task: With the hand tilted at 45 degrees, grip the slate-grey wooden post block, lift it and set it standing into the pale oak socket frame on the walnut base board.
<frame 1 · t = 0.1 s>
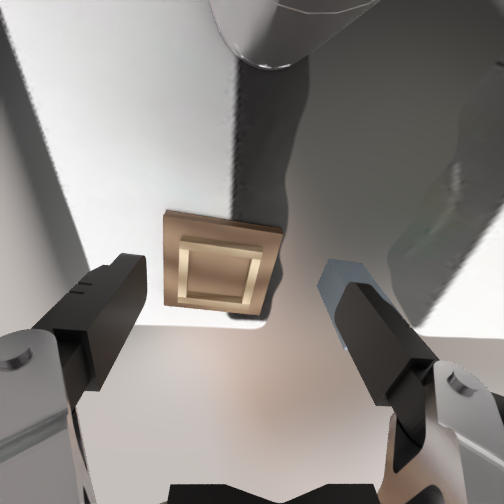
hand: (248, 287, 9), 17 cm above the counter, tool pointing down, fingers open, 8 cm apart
post block: (338, 274, 31), on the counter
base board: (219, 265, 30), on the counter
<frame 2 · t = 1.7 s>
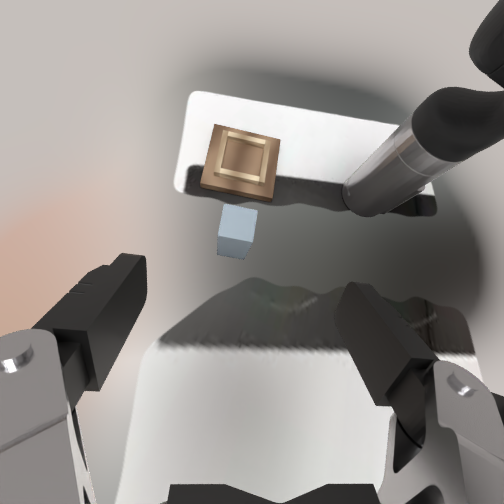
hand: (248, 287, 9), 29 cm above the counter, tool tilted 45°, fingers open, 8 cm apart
post block: (232, 244, 40), on the counter
base board: (241, 165, 45), on the counter
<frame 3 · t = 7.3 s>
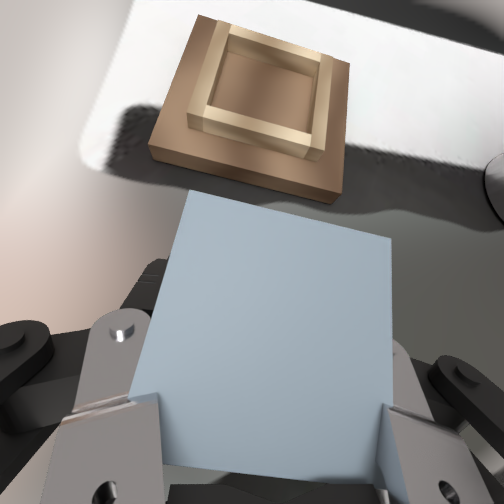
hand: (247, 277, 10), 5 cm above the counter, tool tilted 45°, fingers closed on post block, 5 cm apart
post block: (233, 321, 14), on the counter, touching gripper
base board: (260, 114, 19), on the counter
when the fingers open (9 cm above the counter, at t = 16.5 s): post block drops 2 cm, resting on base board.
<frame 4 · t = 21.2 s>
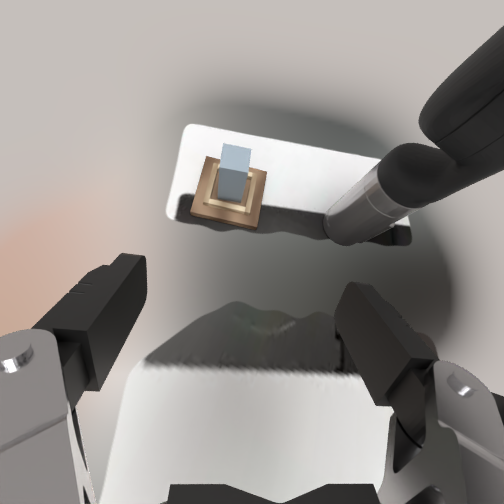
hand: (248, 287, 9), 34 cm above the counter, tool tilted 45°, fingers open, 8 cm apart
post block: (230, 190, 47), point 1 cm above the counter, touching base board
base board: (230, 194, 48), on the counter
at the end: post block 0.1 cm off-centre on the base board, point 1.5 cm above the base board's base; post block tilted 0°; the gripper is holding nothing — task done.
